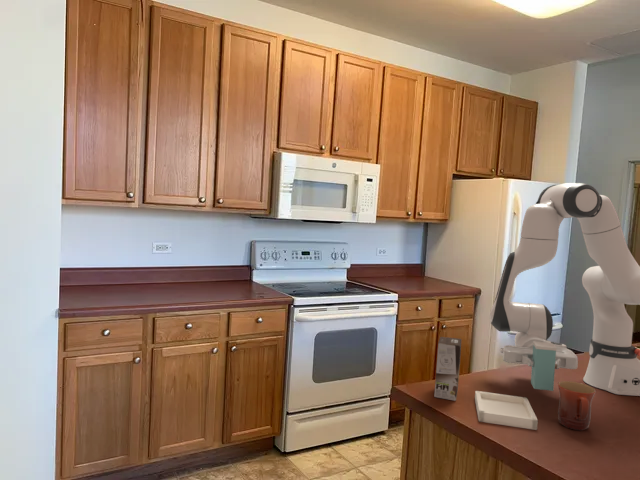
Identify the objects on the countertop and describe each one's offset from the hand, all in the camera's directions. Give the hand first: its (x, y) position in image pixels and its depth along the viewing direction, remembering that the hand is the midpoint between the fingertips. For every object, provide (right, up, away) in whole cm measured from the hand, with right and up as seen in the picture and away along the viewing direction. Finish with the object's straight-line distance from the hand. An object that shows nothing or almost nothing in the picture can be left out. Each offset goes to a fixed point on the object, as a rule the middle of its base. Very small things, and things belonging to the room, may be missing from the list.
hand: (543, 365), depth 137 cm
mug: (+2, -13, -12) cm, 18 cm away
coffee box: (-26, -11, +7) cm, 29 cm away
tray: (-13, -12, -5) cm, 19 cm away
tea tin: (0, -6, +1) cm, 7 cm away
